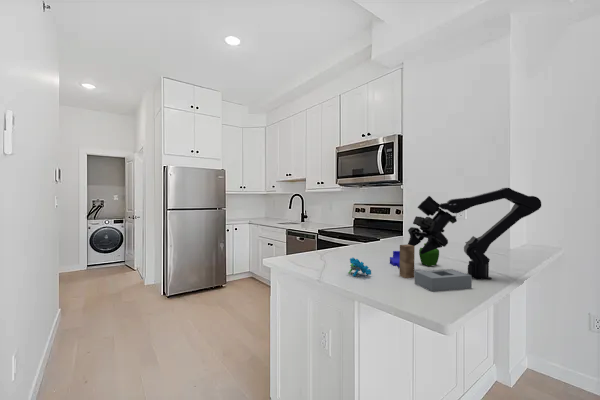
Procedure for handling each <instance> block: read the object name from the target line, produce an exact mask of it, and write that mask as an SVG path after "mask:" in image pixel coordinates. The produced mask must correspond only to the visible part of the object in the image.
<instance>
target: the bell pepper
mask: <svg viewBox="0 0 600 400" xmlns="http://www.w3.org/2000/svg"><path fill="white" fill-rule="evenodd" d="M426 243H427V242H425V243H423V245H425V244H426ZM422 248H423V247H420V248H419V251H418V252H419V253H418V254H419V260H420V262H421V264H422V265H424V266H426V267H427V266H428V267H434V266H436V265H437V264H438V262H439V258H440V250H439V248H437V249H434V250H431V251H429V252H426V253H424V254H421V253H420V251H421V250H422Z"/></svg>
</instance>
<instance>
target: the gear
mask: <svg viewBox="0 0 600 400" xmlns="http://www.w3.org/2000/svg"><path fill="white" fill-rule="evenodd" d="M349 262H350V265H349V266H350V270H349V271H348V274H349V275H350V274H351V273H352V271H354V273H352V276H353V278H354V277H356V276H357V274H358V272H360V271H361V274H365V275H366V276H368V275H369V276H371V274H372V270H371V269H369V268H370V267H369V266H368V265H365V264H364V262H363V261H360V260H359V259H358V258H355V257H350V258H349Z"/></svg>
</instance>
